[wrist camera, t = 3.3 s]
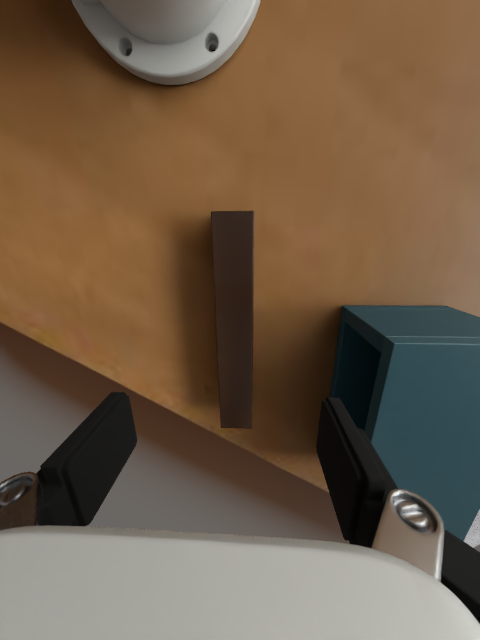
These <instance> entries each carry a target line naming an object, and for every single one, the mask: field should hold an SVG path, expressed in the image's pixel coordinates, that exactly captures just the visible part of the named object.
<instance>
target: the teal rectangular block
mask: <svg viewBox="0 0 480 640" xmlns="http://www.w3.org/2000/svg"><path fill="white" fill-rule="evenodd" d="M329 398H340V399H341V401H342V403H343V404H344V406H345V408H346V410H347V411H348V413H349V415H350V417H351V418H352V420H353V422H354V424H355V425H356V427H357V429H362V430H363V431H364V432H365V433H366V435H367V437H368V438H369V440H370V442H371V443H372V445H373V447H374V448H375V450H376V452H377V453H378V455H379V457H380V458H381V460H382V462H383V463H384V465H385V467H386V468H387V470H388V472H389V473H390V475H391V477H392V479H393V480H394V482H395V484H396V485H397V487H398V489H405V490H410V491H412V492H414V493H416V494H418V495H420V496H421V497H422V498H424V499H425V500H427V501H428V502H429V503H430V504H431V505H432V506H433V507H434V508H435V509H436V511H437V512H438V513H439V515H440V517H441V519H442V521H443V523H444V529H445V530H447V531H448V532H450V533H451V534H453V535H454V536H456V537H457V538H459V539H460V540H462V541H464V539H465V537H466V535H467V533H468V531H469V529H470V527H471V525H472V523H473V521H474V519H475V517H476V515H477V513H478V511H479V509H480V317H477V316H474V315H471V314H468V313H465V312H463V311H460V310H457V309H454V308H451V307H448V306H352V305H343V306H342V312H341V319H340V326H339V333H338V340H337V347H336V354H335V361H334V368H333V374H332V381H331V388H330V395H329Z"/></svg>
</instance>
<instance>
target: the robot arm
mask: <svg viewBox="0 0 480 640" xmlns="http://www.w3.org/2000/svg"><path fill="white" fill-rule="evenodd" d="M71 1H72V3H73V5H74V7H75V9H76V10H77V12H78V14H79V15H80V17H81V19H82V20H83V22H84V24H85V25H86V27H87V28H88V30H89V31H90V32H91V34H92V35H93V36H94V37H95V39H96V40H97V41H98V43H99V44H100V45H101V47H102V48H103V49H104V50H105V51H106V52H107V53H108V54H109V55H110V56H111V57H112V58H113V59H114V60H115V61H116V62H117V63H118V64H120V65H121V66H122V67H124V68H125V69H126V70H128V71H129V72H130V73H132V74H134V75H136V76H138V77H140V78H142V79H145V80H147V81H149V82H154V83H159V84H163V85H181V84H187V83H190V82H193V81H197V80H200V79H202V78H204V77H205V76H207V75H209V74H210V73H212V72H214V71H216V70H217V69H218V68H219V67H220V66H221V65H222V64H224V63H225V62H226V61H227V60H228V59H229V58H230V57H231V56H232V55H233V53H234V52H235V51H236V49H237V48H238V47H239V45H240V44H241V43H242V41H243V40H244V38H245V36H246V34H247V32H248V30H249V29H250V27H251V25H252V23H253V21H254V19H255V16H256V13H257V10H258V7H259V4H260V1H261V0H71ZM213 49H215V51H213V52H211V50H213ZM136 443H137V436H136V431H135V425H134V420H133V415H132V409H131V404H130V399H129V396H127V395H126V394H125V393H124V392H112V393H110V394H109V395H108V396H107V397H106V398H105V399H104V400H103V401H102V402H101V404H100V405H99V406H98V407H97V408H96V409H95V410H94V411H93V412H92V413H91V414H90V415H89V416H88V417H87V418H86V419H85V420H84V421H83V422H82V423H81V424H80V425H79V426H78V428H77V429H76V430H75V431H74V432H73V433H72V434H71V435H70V436H69V437H68V438H67V439H66V440H65V441H64V442H63V443H62V444H61V445H60V446H59V447H58V448H57V449H56V450H55V451H54V453H52V455H51V456H50V457H49V458H48V459H47V460H46V461H45V462H44V463H43V464H42V465H41V466H40V467H41V469H40V470H39V471H38V472H37V473H36V474H35V473H33V472H24V473H20V474H17V475H14V476H12V477H10V478H8V479H6V480H5V481H3V482H1V483H0V640H480V552H478V551H477V550H475V549H474V548H472V547H471V546H469V545H468V544H466V543H465V542H463V541H462V540H460V539H459V538H457V537H456V536H454V535H453V534H451V533H450V532H448V531H447V530H445V529H444V523H443V521H442V519H441V517H440V515H439V513H438V512H437V511H436V509H435V508H434V507H433V506H432V505H431V504H430V503H429V502H428V501H427V500H425V499H424V498H422V497H421V496H420V495H418V494H416V493H414V492H412V491H410V490H405V489H398V487H397V485H396V484H395V482H394V480H393V479H392V477H391V475H390V473H389V472H388V470H387V468H386V467H385V465H384V463H383V462H382V460H381V458H380V457H379V455H378V453H377V452H376V450H375V448H374V447H373V445H372V443H371V442H370V440H369V438H368V437H367V435H366V433H365V432H364V431H363V430H362V429H357V427H356V425H355V424H354V422H353V420H352V418H351V417H350V415H349V413H348V411H347V410H346V408H345V406H344V404H343V403H342V401H341V399H340V398H326V400H325V401H322V404H321V412H320V420H319V428H318V436H317V445H316V447H317V454H318V457H319V460H320V464H321V467H322V470H323V473H324V477H325V480H326V483H327V486H328V489H329V493H330V496H331V499H332V502H333V505H334V509H335V512H336V515H337V518H338V522H339V524H340V528H341V531H342V534H343V537H344V539H345V540H349V542H350V544H346V543H338V542H328V541H317V540H305V539H294V538H278V537H263V536H248V535H231V534H215V533H199V532H198V533H197V532H180V531H164V530H146V529H125V528H107V527H86V525H89V524H90V523H91V521H92V520H93V518H94V516H95V515H96V513H97V511H98V510H99V508H100V506H101V504H102V503H103V501H104V499H105V498H106V496H107V494H108V492H109V491H110V489H111V487H112V486H113V484H114V482H115V480H116V478H117V477H118V475H119V473H120V472H121V470H122V468H123V466H124V465H125V463H126V462H127V460H128V458H129V456H130V455H131V453H132V451H133V449H134V448H135V446H136Z"/></svg>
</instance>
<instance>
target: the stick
mask: <svg viewBox="0 0 480 640" xmlns="http://www.w3.org/2000/svg"><path fill="white" fill-rule="evenodd" d="M211 226H212V248H213V269H214V291H215V312H216V334H217V355H218V376H219V398H220V419H221V428H247V429H252V372H253V276H254V211H212V212H211Z"/></svg>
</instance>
